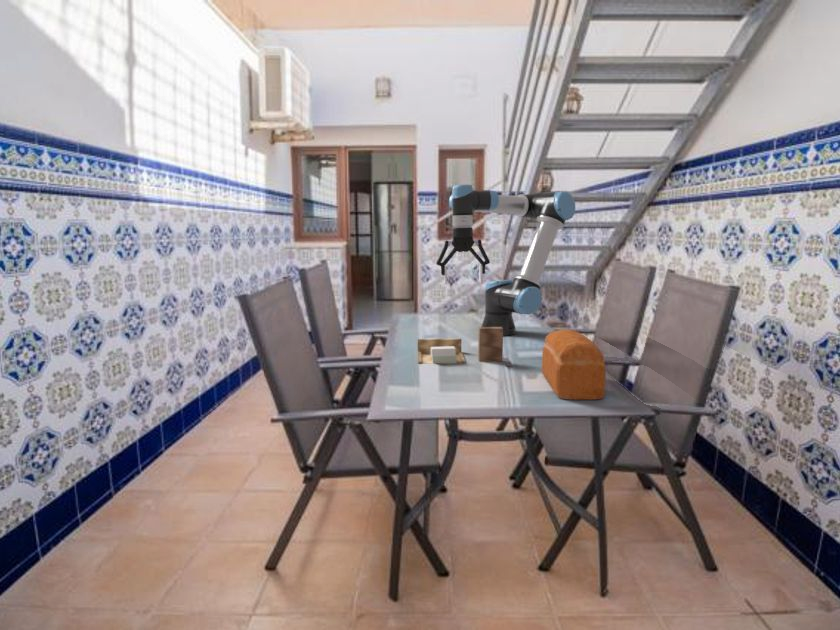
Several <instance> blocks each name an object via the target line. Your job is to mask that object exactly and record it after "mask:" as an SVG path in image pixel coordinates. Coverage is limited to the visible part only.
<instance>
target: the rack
mask: <svg viewBox="0 0 840 630" xmlns="http://www.w3.org/2000/svg"><path fill="white" fill-rule="evenodd" d="M442 346H454V347H455V353H456V356H457V359H456V363H455V364H466V360H465V358H464V357H465V356H464V354H463V352H462V338H417V364H419V365H420V364H422V365H423V364H425V365H432V364H433V365H435V364H438V365H439V364H441V365H442V364H444V365H445V364H448V365H449V364H450V363H433V356H432V355H431V347H442Z"/></svg>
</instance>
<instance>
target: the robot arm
mask: <svg viewBox="0 0 840 630" xmlns="http://www.w3.org/2000/svg"><path fill="white" fill-rule="evenodd" d="M448 199H449V200H448V205H449V208H450V209H451V211H452V227H453V228H452V240H446V239H445V240H444V244H443V247H442V250H441V252H440V254H439V256H438V258H437V260H436V263H435V265H437V266H439V267H440V273H441V276H443V283H444V285H448V272H447V271H448V270H447V269H448V267H447V266H446V265H447V264H448V262H450V261H451V259H452V258H453V256H454V255H455V254H456V253H463V252H465V253H468V252H470V253H471V254H472V255H473V257H474V258H475V259H476V260H477V261H478V263H479V265H478V266H479V267H478V268H479V269H478V277H479V278H478V279H479V280H478V282H479V283H480V284H482V283H483V275H485V274H486V265H489V264H490V263H491V260H490V259H489V257H488V255H487V253H486V251H485V249H484V247H483V244H482V240H481V239H479V238H478V239H475V240H474V235H473V232H474V231H473V230H474V228H473V227H472V226H473V225H474V221H473V220H474V219H473V217H474V216H473V213H474V212H476V213H489V214H491V213H492V214H504V215H505V214H507V215H515V216H516V217H519V218H527V219H533V220H536V221H537V223H538V224H537V226H536V229H535V231H534V234H533V237H532V240H531V242H530V244H529V248H528V250H527V253H526V256H525V258H524V261H523V264H522V266H521V269H520V272H519V273H518V275H516V276H515V277H514V278H513V280H512V279H505V280H491V281H487V282H486V284H485V290H484V294H485V295H484V296H485V297H484V304H485V305H484V306H485V310H484V311H485V313H484V314H485V315H484V316H483V321H482V323H481V326H480V327H502V328H503V337H504V336H511V335H514V334H516V331H517V330H516V329H517V328H516V325H515V322H514V319H513V313H516V314H519V315H531V314H533V313H535V312H537V311H538V309H539V308H540V307H541V306H542V305H541V304H542V301H543V293H542V291H541V288H542V287H541V284H540V279H541V277H542V274H543V271H544V269H545V267H546V263H547V261H548V259H549V256H550V253H551V250H552V247H553V244H554V242H555V240H556V237H557V234H558V231H559V230H560V229H561V230H562V228H564V226H565V223H566V221H569V220H570V219H573V217H574V215H575V214H576V213H575V212H576V203H575V199H574V197H573V196H572V195H571V193H569V192H568V191H560V190H557V191H547V192H545V191H544V192H537V193H531V194H530V193H528V194H523V193H522V194H517V196H515V195H505V194H504V195H503V194H498V192H497V191H496V190H490V189H485V190H483V189H482V190H480V189H479V190H477V189H476V190H474V188H473V185H471V184H456V185H453V187H452V191H451V195H450V197H449V198H448ZM474 244H475V246H477V247H478V250H479V252H480V254H481V256H482V258H483V259H482V258H481V257H480V256H479V254H478V253H477V252H476V251H475V249H474V248H473V246H474ZM451 245H452V246H453V247H452V249H451V250H450V252H449V254H447V253H446V252H447V250H448V248H449V247H450V246H451ZM446 254H447V256H446V257H445V255H446ZM444 257H445V258H444ZM443 259H444V260H443Z"/></svg>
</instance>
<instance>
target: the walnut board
mask: <svg viewBox="0 0 840 630" xmlns="http://www.w3.org/2000/svg"><path fill="white" fill-rule="evenodd" d="M477 341H478V343H477V344H478V346H477V347H478V349H477V353H478V354H477V359H478V362H503V361H502V358H504V357H503V355H504V354H503V352H504V350H503V348H504V336H503V328H502V327H481V326H478V340H477Z"/></svg>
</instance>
